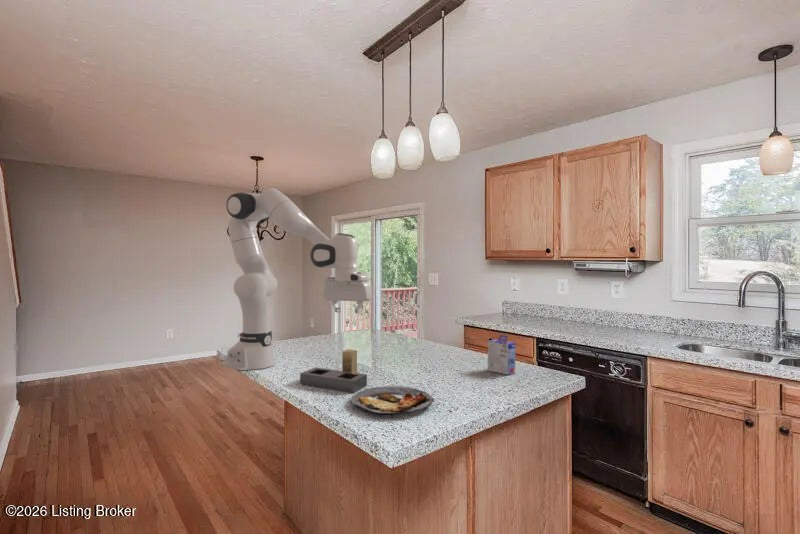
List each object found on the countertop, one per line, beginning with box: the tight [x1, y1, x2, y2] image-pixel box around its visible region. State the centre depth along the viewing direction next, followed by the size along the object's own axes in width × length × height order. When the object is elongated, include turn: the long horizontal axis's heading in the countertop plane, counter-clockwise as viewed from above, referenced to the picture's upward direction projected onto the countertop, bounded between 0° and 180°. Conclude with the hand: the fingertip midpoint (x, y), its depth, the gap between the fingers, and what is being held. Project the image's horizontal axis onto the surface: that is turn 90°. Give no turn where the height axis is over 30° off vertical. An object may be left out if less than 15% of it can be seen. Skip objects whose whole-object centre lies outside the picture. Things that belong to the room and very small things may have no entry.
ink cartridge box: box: [487, 334, 517, 376], centre depth 162 cm, size 10×6×14 cm, turn 41°
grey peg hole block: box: [299, 367, 368, 394], centre depth 143 cm, size 22×9×4 cm, turn 66°
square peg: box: [341, 349, 358, 373], centre depth 153 cm, size 4×4×10 cm
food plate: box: [350, 385, 435, 415], centre depth 125 cm, size 25×23×4 cm
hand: (347, 312), depth 153 cm, fingers open, 8 cm apart
